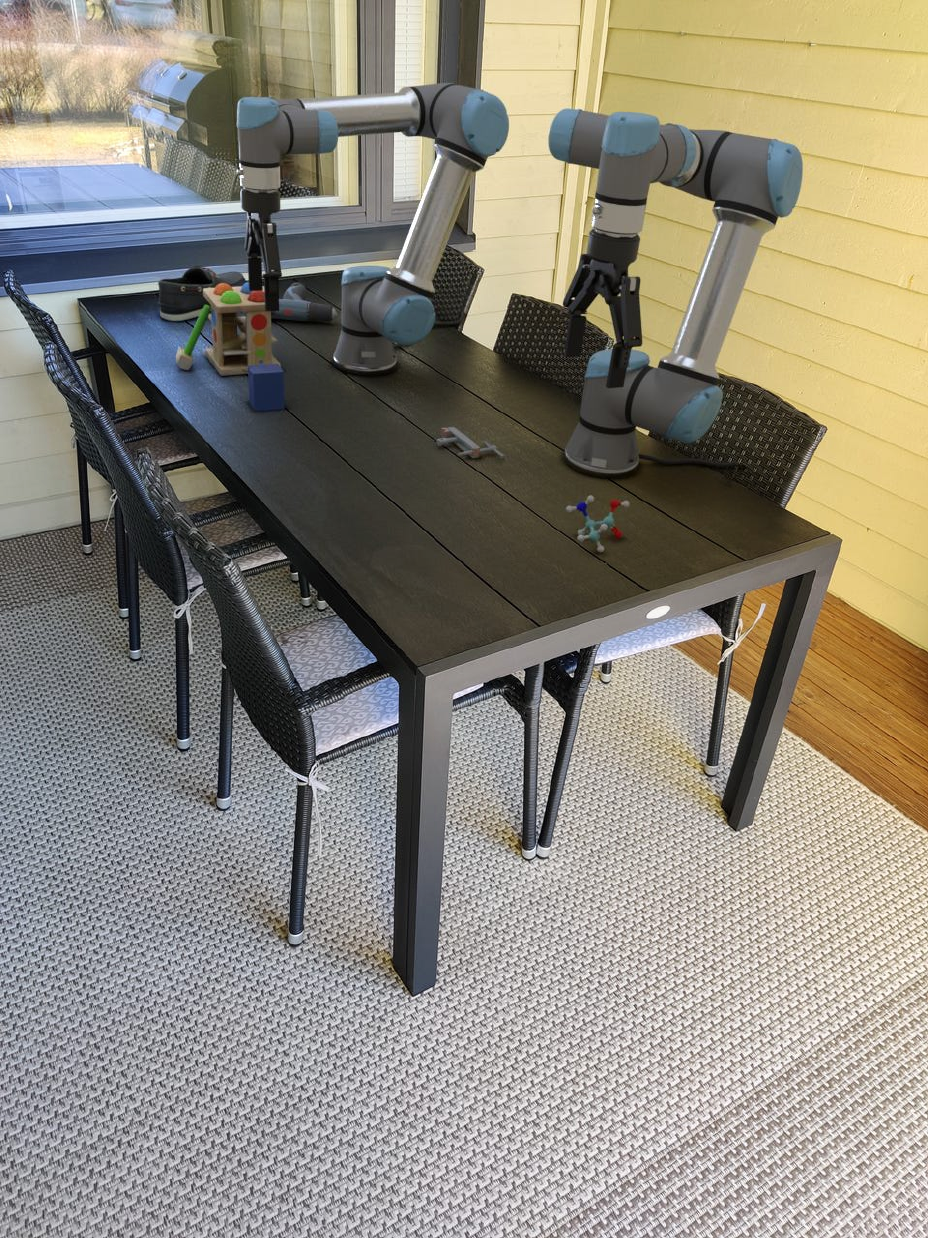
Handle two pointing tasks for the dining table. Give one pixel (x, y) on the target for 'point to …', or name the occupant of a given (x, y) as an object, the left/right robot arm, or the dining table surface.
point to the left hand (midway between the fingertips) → (263, 300)
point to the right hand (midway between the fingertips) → (592, 371)
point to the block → (266, 387)
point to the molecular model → (591, 523)
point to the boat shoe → (191, 292)
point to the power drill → (302, 307)
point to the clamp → (464, 443)
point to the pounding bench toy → (233, 330)
